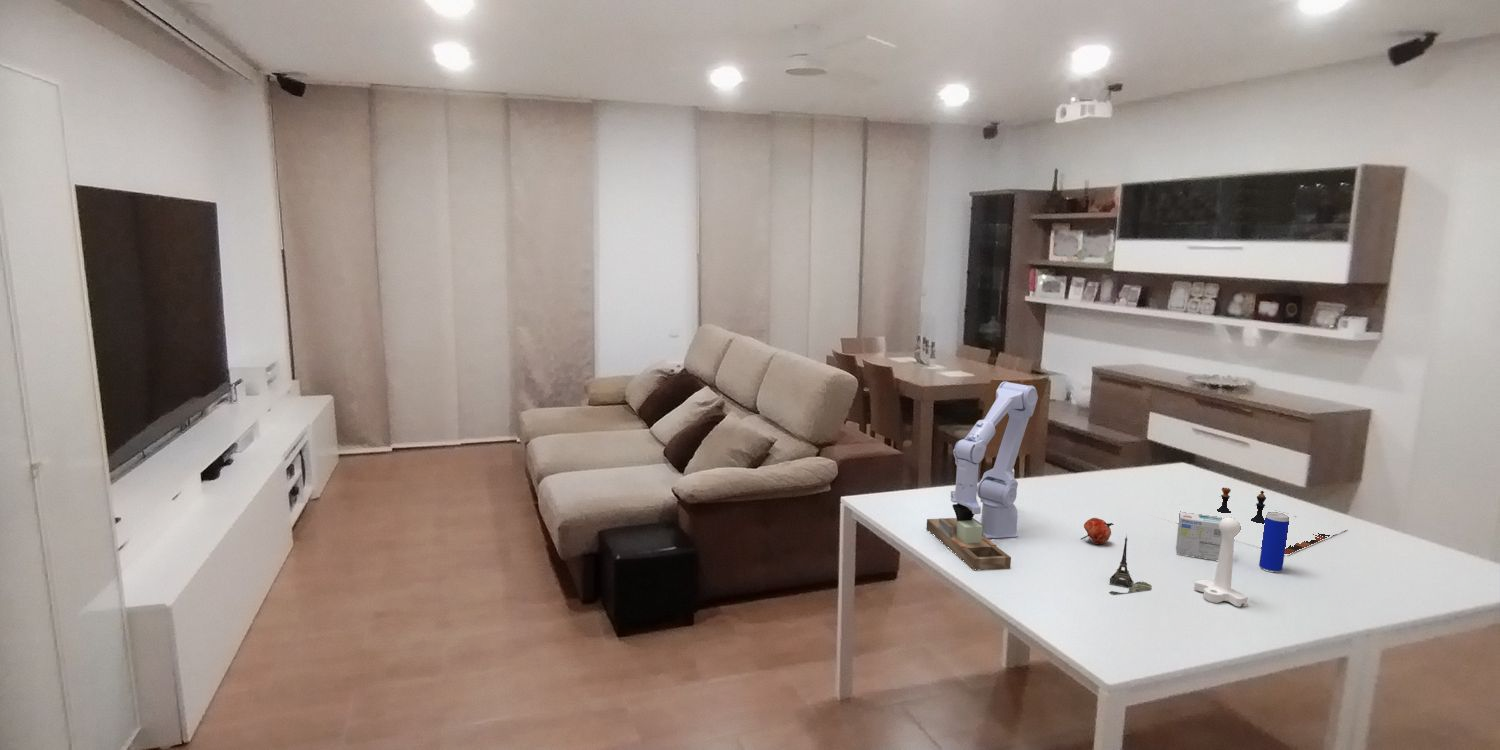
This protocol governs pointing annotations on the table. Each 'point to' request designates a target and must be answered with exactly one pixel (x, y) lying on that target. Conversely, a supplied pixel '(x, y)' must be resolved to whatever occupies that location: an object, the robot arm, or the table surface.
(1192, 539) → the light bulb box
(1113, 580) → the eiffel tower figurine
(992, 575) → the table surface
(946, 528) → the brown wooden long tray
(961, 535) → the green block
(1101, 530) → the pomegranate
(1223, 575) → the joystick
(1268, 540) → the beverage can
